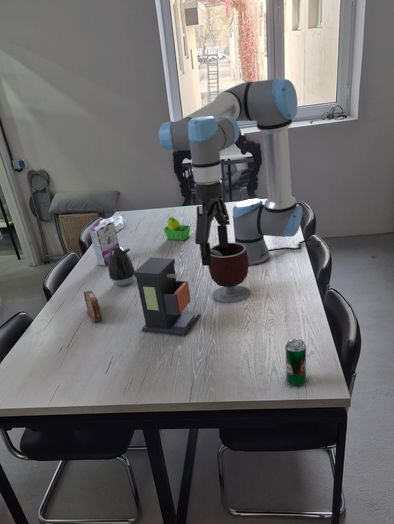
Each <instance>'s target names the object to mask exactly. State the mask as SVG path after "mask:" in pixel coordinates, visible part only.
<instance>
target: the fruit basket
mask: <svg viewBox="0 0 394 524" xmlns="http://www.w3.org/2000/svg"><path fill="white" fill-rule="evenodd" d="M190 229H191V225H185V224H180V221H179V220H178V219H177V218H175V217H174V216H170V217H168V219H167V226H165V227H164V228H162V230H163V232H164V233H165V236H166V238H167V239H168V240H174V241H181V242H183V241H184V240H186V239H187V238H189V236H190Z"/></svg>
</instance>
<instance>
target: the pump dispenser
mask: <svg viewBox="0 0 394 524" xmlns="http://www.w3.org/2000/svg"><path fill="white" fill-rule="evenodd" d="M130 251H131V249H130V248H129V247H127V248H125V249H124V248H123V247H121V246H119V247H118V246H116V247H114V248H112V249H111V251H110V255H109V261H108V265H107V268H108V277H109V279H110V280H111V282H112V283H113V284H114V285H116V286H119V287H120V286H121V287H123V286H128V285H130V284H131V283H132V282H133V281H134V278H135V276H134V272H135V271H136V270H135V267H134V265H133V262H132V260H131V258H130V256H129V254H128V253H129V252H130Z"/></svg>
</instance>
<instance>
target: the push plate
mask: <svg viewBox="0 0 394 524" xmlns="http://www.w3.org/2000/svg"><path fill="white" fill-rule="evenodd" d="M188 286H189V283H188V284H187V283H183V284H182V285H181V286H180V287H179V288H178V290H177V291H176V292H175V293H174V295H176V300H177V307H178V313H179V314H180V313H181V312H182V311H185V309H186V308H187V306H188V305H189V304H190V303H191V301H190V300H191V297H190V298H189V293H190V290H189V291H188Z"/></svg>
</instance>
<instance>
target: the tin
mask: <svg viewBox="0 0 394 524" xmlns="http://www.w3.org/2000/svg"><path fill="white" fill-rule="evenodd" d="M83 297H84V301H85V304H86V309H87V311H88V314H89V315H90V317H91V319H92V322H93V323H96V322H99V321H102V314H101V307H100V303H99V300H98V297H96V295H95V293H94V292H93V291H92V290H85V291H84V292H83Z"/></svg>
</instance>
